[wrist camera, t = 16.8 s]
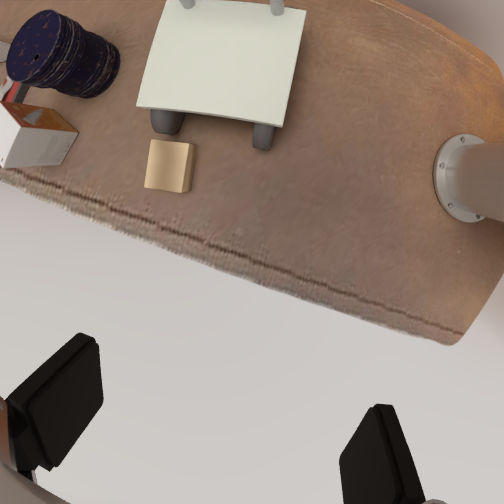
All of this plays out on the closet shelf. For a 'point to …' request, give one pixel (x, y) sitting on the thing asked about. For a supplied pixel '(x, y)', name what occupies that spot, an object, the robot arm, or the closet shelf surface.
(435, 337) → the closet shelf surface
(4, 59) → the photo printer
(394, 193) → the closet shelf surface
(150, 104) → the trolley
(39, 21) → the dark blue cylinder
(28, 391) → the robot arm
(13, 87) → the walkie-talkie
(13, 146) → the small box
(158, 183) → the block
